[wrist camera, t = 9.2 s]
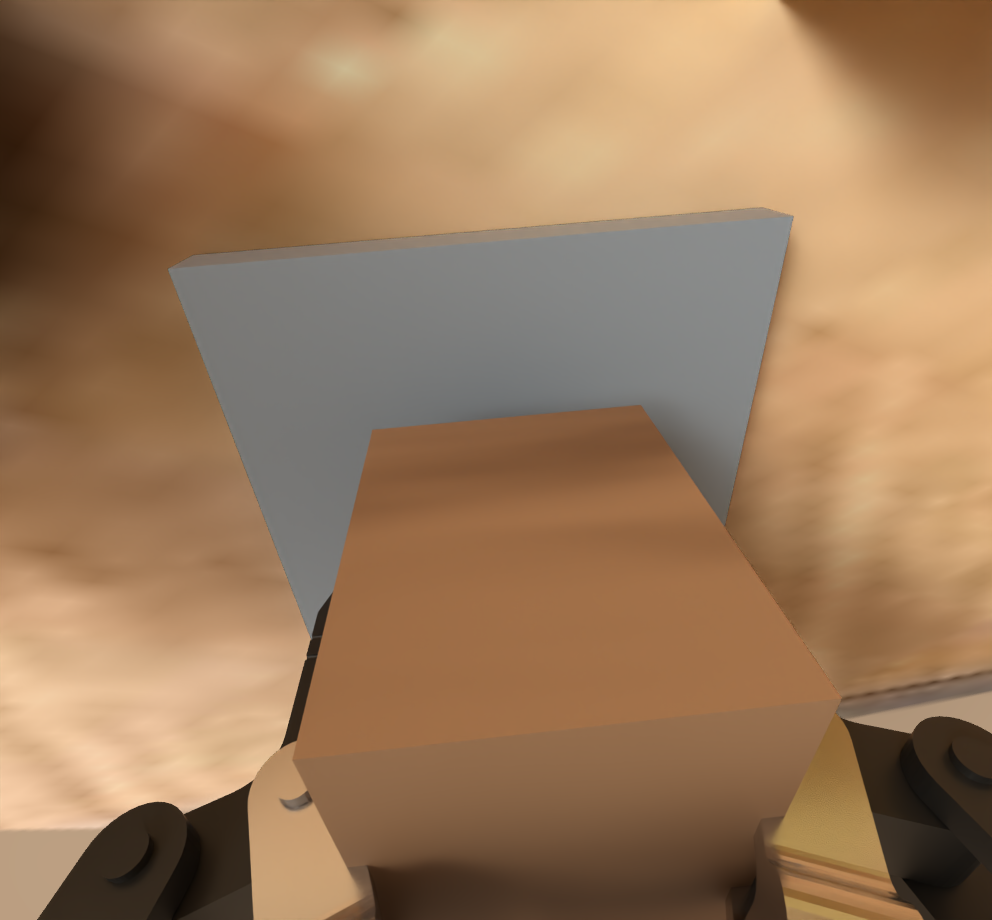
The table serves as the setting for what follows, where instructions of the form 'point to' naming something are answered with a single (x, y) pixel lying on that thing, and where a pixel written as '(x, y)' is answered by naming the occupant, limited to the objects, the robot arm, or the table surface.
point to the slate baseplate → (477, 349)
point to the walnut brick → (551, 679)
